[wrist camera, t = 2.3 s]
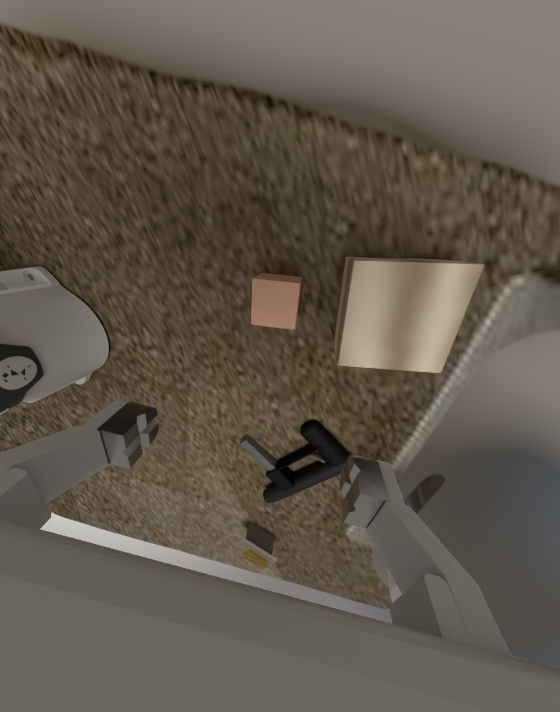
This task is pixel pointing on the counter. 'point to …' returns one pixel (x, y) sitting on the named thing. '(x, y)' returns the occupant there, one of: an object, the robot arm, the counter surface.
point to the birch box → (402, 311)
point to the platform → (258, 547)
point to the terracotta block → (275, 300)
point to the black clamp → (308, 477)
